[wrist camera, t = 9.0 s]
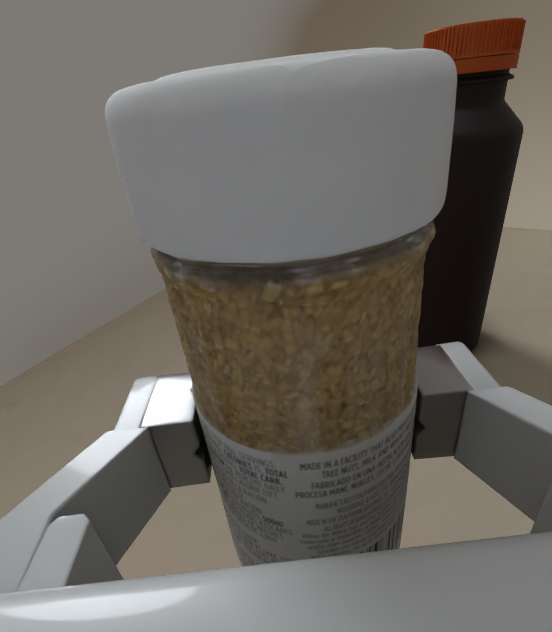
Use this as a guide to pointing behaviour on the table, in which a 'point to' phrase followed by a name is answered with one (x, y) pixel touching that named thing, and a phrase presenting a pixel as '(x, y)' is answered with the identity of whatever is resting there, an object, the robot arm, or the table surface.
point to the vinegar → (472, 180)
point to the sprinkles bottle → (296, 276)
